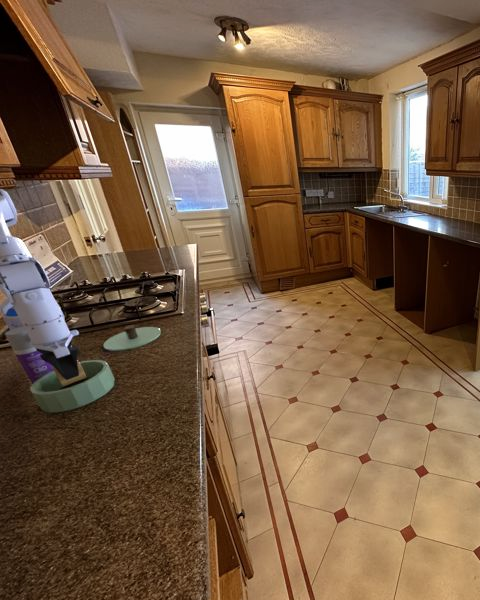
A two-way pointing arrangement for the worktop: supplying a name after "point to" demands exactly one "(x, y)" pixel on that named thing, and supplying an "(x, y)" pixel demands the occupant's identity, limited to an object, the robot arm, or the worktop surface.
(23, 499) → the worktop surface
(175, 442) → the worktop surface
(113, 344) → the lid
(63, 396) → the pot
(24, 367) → the container
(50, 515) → the worktop surface
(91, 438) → the worktop surface
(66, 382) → the block
